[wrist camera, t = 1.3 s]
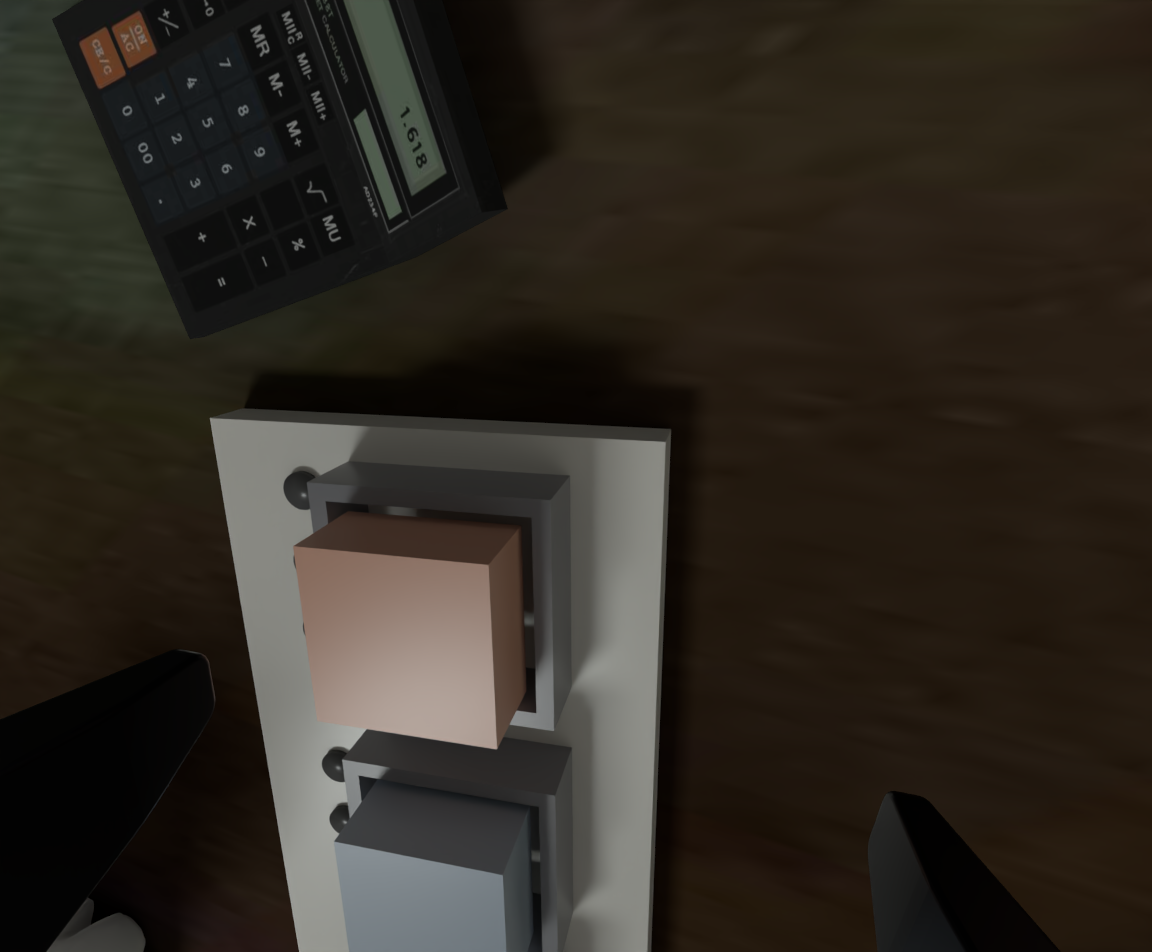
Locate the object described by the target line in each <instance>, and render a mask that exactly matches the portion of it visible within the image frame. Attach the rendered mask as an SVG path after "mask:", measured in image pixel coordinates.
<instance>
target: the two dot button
mask: <svg viewBox="0 0 1152 952" xmlns="http://www.w3.org/2000/svg"><path fill="white" fill-rule="evenodd" d="M334 846H335V853H336V861H337V868H338V875H339V882H340V890H341V897H342V904H343V911H344V918H345V926H346V933H347V940H348V947H349V952H528V948H529V945H530V942H531V939H532V935H533V932H534V925H533V892H532V859H531V825H530V805H524V804H518V803H512V802H507V801H501V800H495V799H489V798H484V797H478V796H472V795H466V794H461V793H455V792H449V791H443V790H438V789H432V788H426V787H421V786H415V785H409V784H403V783H398V782H392V781H386V780H380V779H377V781H376V782H375V784H374V785H373V787H372V788H371V789H370V791H369V792H368V794H367V795H366V797H365V798H364V799H363V801H362V802H361V804H360V805H359V807H358V808H357V809H356V811H355V812H354V814H353V815H352V816H351V818H350V819H349V821H348V822H347V824H346V825H345V826H344V828H343V829H342V831H341V832H340V834H339V835H338V836H337V838H336V839H335V841H334Z"/></svg>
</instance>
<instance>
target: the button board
mask: <svg viewBox="0 0 1152 952" xmlns="http://www.w3.org/2000/svg"><path fill="white" fill-rule="evenodd" d="M210 422H211V428H212V434H213V440H214V446H215V452H216V458H217V464H218V470H219V476H220V482H221V488H222V493H223V499H224V505H225V511H226V517H227V523H228V529H229V535H230V541H231V547H232V553H233V559H234V565H235V571H236V577H237V583H238V589H239V595H240V601H241V607H242V613H243V619H244V625H245V631H246V637H247V643H248V649H249V655H250V661H251V667H252V673H253V679H254V685H255V691H256V697H257V703H258V709H259V715H260V721H261V727H262V732H263V738H264V744H265V750H266V756H267V762H268V768H269V774H270V780H271V786H272V792H273V798H274V804H275V810H276V816H277V822H278V828H279V834H280V840H281V846H282V852H283V858H284V864H285V870H286V876H287V882H288V888H289V894H290V900H291V906H292V912H293V918H294V924H295V930H296V936H297V942H298V948H299V952H349V947H348V940H347V933H346V926H345V918H344V911H343V904H342V897H341V890H340V882H339V875H338V868H337V861H336V853H335V846H334V841H335V839H336V838H337V836H338V835H339V834H340V832H341V831H342V829H343V828H344V826H345V825H346V824H347V822H348V821H349V819H350V818H351V816H352V815H353V814H354V812H355V811H356V809H357V808H358V807H359V805H360V804H361V802H362V801H363V799H364V798H365V797H366V795H367V794H368V792H369V791H370V789H371V788H372V787H373V785H374V784H375V782H376V781H377V779H380V780H386V781H392V782H398V783H403V784H409V785H415V786H421V787H426V788H432V789H438V790H443V791H449V792H455V793H461V794H466V795H472V796H478V797H484V798H489V799H495V800H501V801H507V802H512V803H518V804H524V805H530V825H531V859H532V892H533V925H534V932H533V935H532V939H531V942H530V945H529V948H528V952H651V941H652V915H653V888H654V862H655V836H656V810H657V784H658V758H659V732H660V706H661V680H662V654H663V628H664V602H665V576H666V550H667V523H668V497H669V471H670V445H671V429H659V428H638V427H618V426H597V425H576V424H555V423H535V422H514V421H493V420H472V419H452V418H431V417H410V416H389V415H369V414H348V413H327V412H306V411H286V410H265V409H244V408H243V409H239V410H236V411H233V412H229V413H226V414H222V415H219V416H216V417H212V418H210ZM348 511H352V512H365V513H377V514H389V515H401V516H413V517H425V518H437V519H450V520H462V521H474V522H486V523H498V524H510V525H522V558H523V591H524V625H525V658H526V693H525V695H524V697H523V699H522V701H521V703H520V705H519V707H518V709H517V711H516V713H515V715H514V717H513V719H512V721H511V723H510V725H509V727H508V729H507V731H506V733H505V735H504V737H503V739H502V741H501V743H500V745H499V747H498V749H491V748H484V747H478V746H472V745H465V744H459V743H453V742H446V741H440V740H434V739H427V738H421V737H415V736H408V735H402V734H396V733H389V732H383V731H377V730H370V729H364V728H358V727H351V726H345V725H339V724H332V723H326V722H319V721H317V716H316V709H315V701H314V694H313V687H312V680H311V672H310V665H309V658H308V651H307V643H306V636H305V629H304V622H303V615H302V607H301V600H300V593H299V586H298V578H297V571H296V564H295V557H294V549H293V546H294V545H296V544H297V543H299V542H300V541H302V540H304V539H305V538H307V537H308V536H310V535H311V534H313V533H315V532H316V531H318V530H319V529H321V528H323V527H324V526H326V525H327V524H329V523H330V522H332V521H334V520H335V519H337V518H338V517H340V516H341V515H343V514H345V513H346V512H348Z"/></svg>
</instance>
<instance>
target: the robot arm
mask: <svg viewBox="0 0 1152 952" xmlns="http://www.w3.org/2000/svg"><path fill="white" fill-rule="evenodd" d="M214 707H215V695H214V689H213V683H212V677H211V671H210V665H209V661H208V659H207V658H206V656H205V655H203V654H201V653H197V652H192V651H187V650H182V649H175V650H171V651H168V652H166V653H163V654H161V655H159V656H156V657H154V658H151V659H149V660H146V661H144V662H141V663H139V664H136V665H134V666H131V667H129V668H126V669H124V670H121V671H119V672H116V673H114V674H111V675H109V676H107V677H104V678H102V679H99V680H97V681H94V682H92V683H89V684H87V685H84V686H82V687H79V688H77V689H74V690H72V691H69V692H67V693H64V694H62V695H59V696H57V697H55V698H52V699H50V700H47V701H45V702H42V703H40V704H37V705H35V706H32V707H30V708H27V709H25V710H22V711H20V712H17V713H15V714H12V715H10V716H7V717H5V718H3V719H0V952H47V950H48V949H49V948H50V946H51V945H52V944H53V942H54V941H55V940H56V939H57V937H58V936H59V935H60V933H61V932H62V931H63V929H64V928H65V927H66V925H67V924H68V923H69V921H70V920H71V919H72V917H73V916H74V915H75V914H76V912H77V911H78V910H79V908H80V907H81V906H82V904H83V903H84V902H85V900H86V899H87V898H88V896H89V895H90V894H91V892H92V891H93V890H94V889H95V887H96V886H97V885H98V883H99V882H100V881H101V879H102V878H103V877H104V875H105V874H106V873H107V871H108V870H109V869H110V867H111V866H112V865H113V864H114V862H115V861H116V860H117V858H118V857H119V856H120V854H121V853H122V852H123V850H124V849H125V848H126V846H127V845H128V844H129V842H130V841H131V840H132V839H133V837H134V836H135V834H136V833H137V832H138V830H139V829H140V827H141V826H142V825H143V823H144V822H145V821H146V819H147V818H148V816H149V815H150V813H151V812H152V810H153V809H154V807H155V806H156V804H157V803H158V801H159V799H160V798H161V796H162V795H163V793H164V791H165V790H166V788H167V787H168V785H169V783H170V782H171V780H172V779H173V777H174V776H175V774H176V772H177V771H178V769H179V768H180V766H181V764H182V763H183V761H184V760H185V758H186V756H187V755H188V753H189V752H190V750H191V748H192V747H193V745H194V744H195V742H196V741H197V739H198V737H199V736H200V734H201V733H202V731H203V729H204V728H205V726H206V725H207V723H208V721H209V720H210V718H211V716H212V713H213V711H214ZM868 860H869V870H870V880H871V890H872V899H873V909H874V919H875V929H876V939H877V949H878V952H1060V950H1059V949H1058V948H1057V947H1056V946H1055V945H1054V944H1053V942H1052V941H1051V940H1050V939H1049V938H1048V937H1047V935H1046V934H1045V933H1044V932H1043V931H1042V930H1041V929H1040V927H1039V926H1038V925H1037V924H1036V923H1035V922H1034V921H1033V919H1032V918H1031V917H1030V916H1029V915H1028V914H1027V913H1026V911H1025V910H1024V909H1023V908H1022V907H1021V906H1020V905H1019V903H1018V902H1017V901H1016V900H1015V899H1014V898H1013V897H1012V895H1011V894H1010V893H1009V892H1008V891H1007V890H1006V889H1005V887H1004V886H1003V885H1002V884H1001V883H1000V882H999V881H998V879H997V878H996V877H995V876H994V875H993V874H992V873H991V871H990V870H989V869H988V868H987V867H986V866H985V865H984V863H983V862H982V861H981V860H980V859H979V858H978V857H977V855H976V854H975V853H974V852H973V851H972V850H971V849H970V847H969V846H968V845H967V844H966V843H965V842H964V841H963V839H962V838H961V837H960V836H959V835H958V834H957V833H956V831H955V830H954V829H953V828H952V827H951V826H950V825H949V823H948V822H947V821H946V820H945V819H944V818H943V817H942V815H941V814H940V813H939V812H938V811H937V810H936V809H935V807H934V806H933V805H932V804H931V803H930V802H929V801H928V800H927V799H925V798H923V797H921V796H917V795H912V794H907V793H902V792H897V791H890V792H888V793H887V794H886V795H885V797H884V799H883V802H882V805H881V807H880V810H879V813H878V816H877V819H876V821H875V824H874V827H873V830H872V833H871V835H870V839H869V846H868Z"/></svg>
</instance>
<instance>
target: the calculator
mask: <svg viewBox="0 0 1152 952" xmlns="http://www.w3.org/2000/svg"><path fill="white" fill-rule="evenodd" d="M52 20H53V23H54V25H55V27H56V29H57V32H58V34H59V36H60V39H61V41H62V43H63V46H64V48H65V50H66V53H67V55H68V57H69V60H70V62H71V64H72V67H73V69H74V71H75V74H76V76H77V78H78V80H79V83H80V85H81V87H82V90H83V92H84V94H85V97H86V99H87V101H88V104H89V106H90V108H91V111H92V113H93V115H94V118H95V120H96V122H97V125H98V127H99V129H100V132H101V134H102V136H103V138H104V141H105V143H106V145H107V148H108V150H109V152H110V155H111V157H112V159H113V162H114V164H115V166H116V169H117V171H118V173H119V176H120V178H121V180H122V183H123V185H124V187H125V190H126V192H127V194H128V196H129V199H130V201H131V203H132V206H133V208H134V210H135V213H136V215H137V217H138V220H139V222H140V224H141V227H142V229H143V231H144V234H145V236H146V238H147V241H148V243H149V245H150V248H151V250H152V252H153V254H154V257H155V259H156V261H157V264H158V266H159V268H160V271H161V273H162V275H163V278H164V280H165V282H166V285H167V287H168V289H169V292H170V294H171V296H172V299H173V301H174V303H175V306H176V308H177V310H178V312H179V315H180V317H181V319H182V322H183V324H184V326H185V329H186V331H187V333H188V336H189V338H190V339H193V338H200V337H205V336H207V335H210V334H213V333H215V332H218V331H221V330H223V329H226V328H229V327H231V326H234V325H237V324H239V323H242V322H245V321H247V320H250V319H253V318H255V317H258V316H261V315H263V314H266V313H269V312H271V311H274V310H277V309H279V308H282V307H285V306H287V305H290V304H293V303H295V302H298V301H301V300H303V299H306V298H309V297H311V296H314V295H317V294H319V293H322V292H325V291H327V290H330V289H332V288H335V287H338V286H340V285H343V284H346V283H348V282H351V281H354V280H356V279H359V278H362V277H364V276H367V275H370V274H372V273H375V272H378V271H380V270H383V269H386V268H388V267H391V266H394V265H396V264H399V263H402V262H404V261H407V260H410V259H412V258H415V257H417V256H419V255H421V254H423V253H425V252H427V251H428V250H430V249H432V248H434V247H436V246H438V245H440V244H442V243H444V242H446V241H447V240H449V239H451V238H453V237H455V236H457V235H459V234H461V233H463V232H465V231H466V230H468V229H470V228H472V227H474V226H476V225H478V224H480V223H482V222H484V221H485V220H487V219H489V218H491V217H493V216H495V215H497V214H499V213H501V212H503V211H504V210H506V209H508V208H507V205H506V202H505V199H504V196H503V192H502V189H501V186H500V183H499V180H498V177H497V173H496V170H495V167H494V164H493V161H492V157H491V154H490V151H489V148H488V145H487V142H486V138H485V135H484V132H483V129H482V126H481V122H480V119H479V116H478V113H477V110H476V107H475V103H474V100H473V97H472V94H471V91H470V87H469V84H468V81H467V78H466V75H465V72H464V68H463V65H462V62H461V59H460V56H459V52H458V49H457V46H456V43H455V40H454V37H453V33H452V30H451V27H450V24H449V21H448V17H447V14H446V11H445V8H444V5H443V2H442V0H83V1H82V2H80V3H78V4H77V5H75V6H73V7H72V8H70V9H68V10H67V11H65V12H63V13H62V14H60V15H58V16H57V17H55V18H53V19H52Z"/></svg>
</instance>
